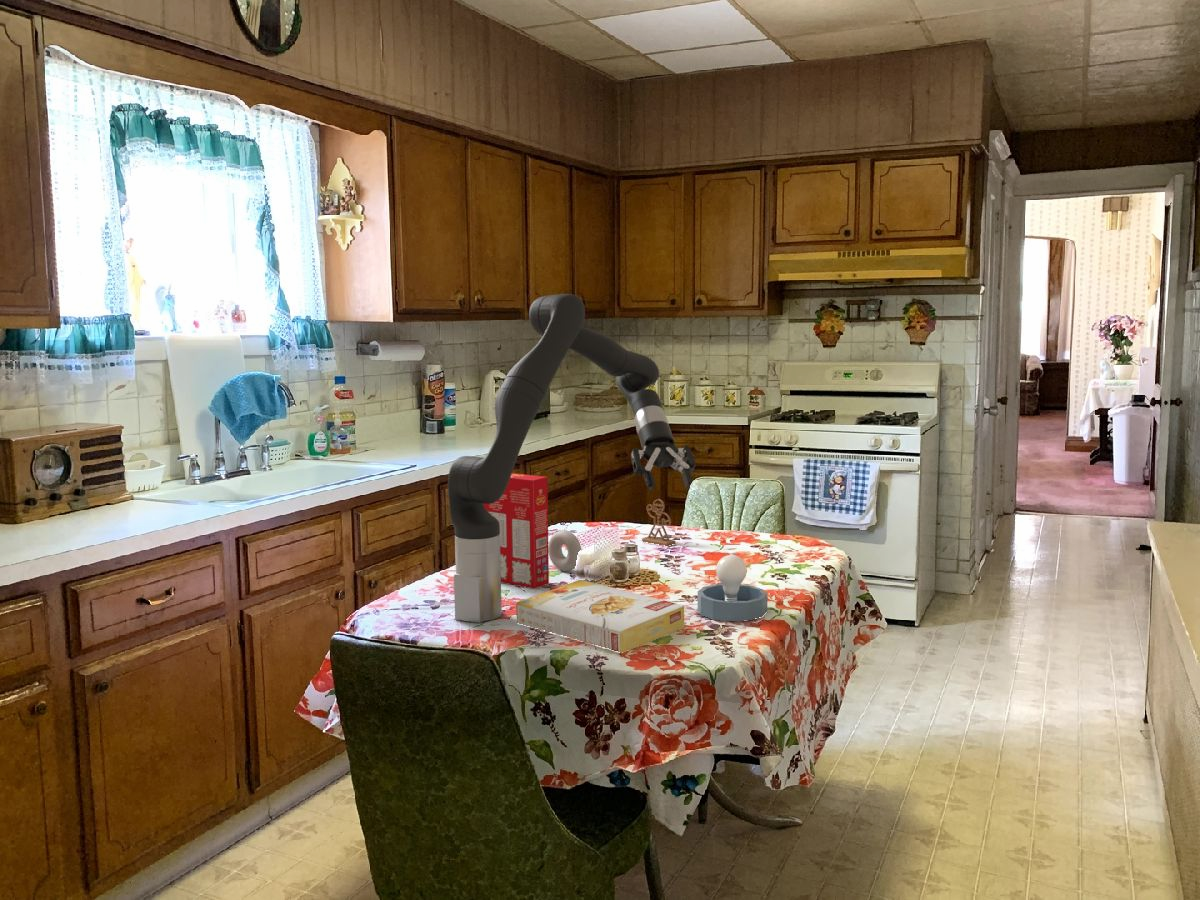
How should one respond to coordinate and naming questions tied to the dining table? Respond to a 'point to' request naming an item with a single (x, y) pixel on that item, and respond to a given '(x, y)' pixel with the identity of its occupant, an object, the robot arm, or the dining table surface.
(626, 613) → the cereal box
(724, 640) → the dining table surface
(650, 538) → the gingerbread man figurine
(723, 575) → the lightbulb
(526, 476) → the food packaging
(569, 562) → the donut
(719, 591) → the bowl
